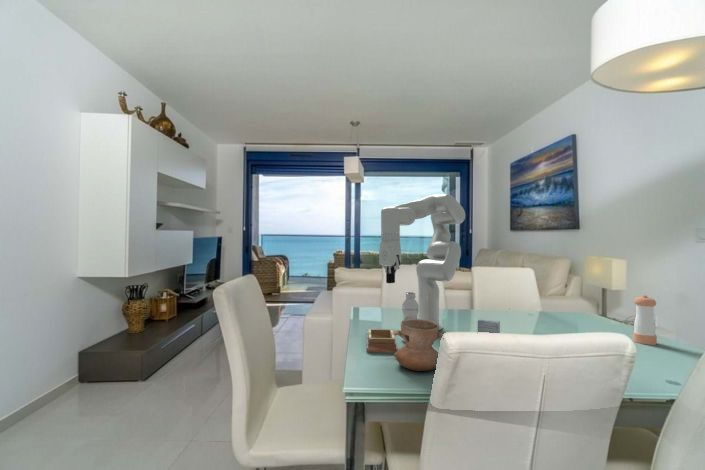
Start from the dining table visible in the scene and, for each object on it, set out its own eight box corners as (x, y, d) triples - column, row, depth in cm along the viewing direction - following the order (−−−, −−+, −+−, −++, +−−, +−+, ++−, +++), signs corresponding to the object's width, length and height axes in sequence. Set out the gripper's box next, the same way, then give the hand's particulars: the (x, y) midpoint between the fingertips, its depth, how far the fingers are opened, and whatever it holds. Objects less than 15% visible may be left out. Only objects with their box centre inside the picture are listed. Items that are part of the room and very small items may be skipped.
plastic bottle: (418, 346, 131) (419, 294, 131) (401, 345, 132) (401, 293, 133) (419, 341, 137) (419, 292, 138) (402, 340, 139) (402, 291, 139)
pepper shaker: (657, 342, 139) (657, 295, 139) (655, 346, 134) (656, 297, 134) (634, 338, 144) (634, 293, 144) (632, 342, 139) (632, 295, 139)
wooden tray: (366, 335, 146) (366, 326, 146) (392, 335, 145) (392, 326, 145) (366, 354, 122) (366, 343, 122) (397, 355, 121) (397, 344, 121)
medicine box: (500, 342, 137) (500, 320, 137) (498, 345, 134) (498, 323, 134) (479, 339, 142) (479, 318, 142) (477, 341, 138) (477, 320, 138)
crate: (368, 340, 136) (368, 329, 136) (392, 340, 135) (392, 329, 135) (369, 350, 123) (369, 338, 123) (394, 351, 123) (394, 338, 123)
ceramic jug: (391, 373, 105) (393, 327, 105) (392, 356, 119) (393, 316, 119) (451, 378, 103) (453, 331, 103) (445, 360, 117) (446, 319, 117)
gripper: (373, 237, 143) (373, 281, 143) (393, 238, 130) (393, 286, 130) (388, 237, 147) (388, 280, 147) (409, 237, 133) (409, 284, 134)
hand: (390, 282), depth 138 cm, fingers closed
